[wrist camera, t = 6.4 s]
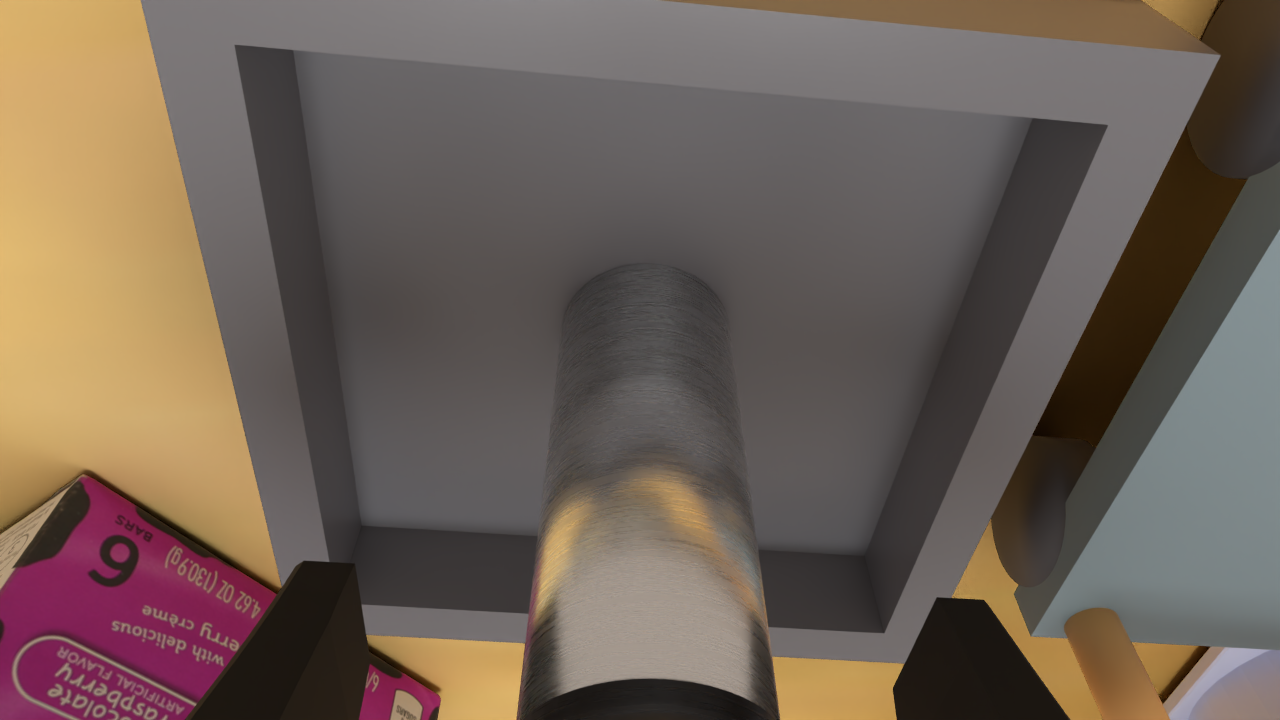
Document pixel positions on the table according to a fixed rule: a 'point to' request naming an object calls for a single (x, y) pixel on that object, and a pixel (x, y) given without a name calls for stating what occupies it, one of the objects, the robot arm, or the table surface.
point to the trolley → (1177, 433)
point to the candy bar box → (132, 618)
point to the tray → (660, 234)
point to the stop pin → (646, 517)
